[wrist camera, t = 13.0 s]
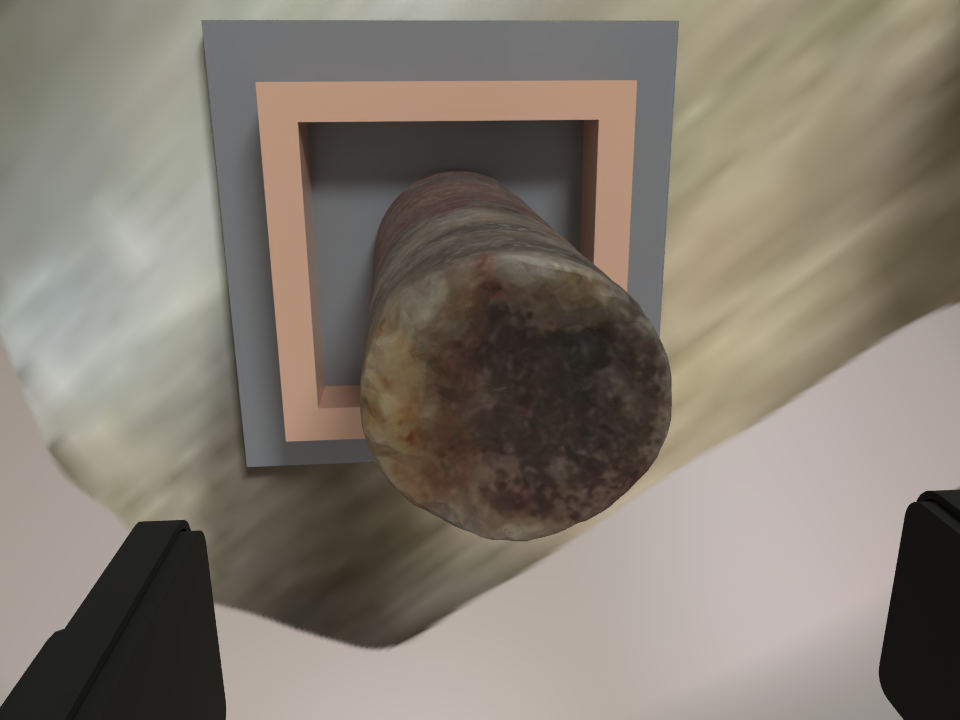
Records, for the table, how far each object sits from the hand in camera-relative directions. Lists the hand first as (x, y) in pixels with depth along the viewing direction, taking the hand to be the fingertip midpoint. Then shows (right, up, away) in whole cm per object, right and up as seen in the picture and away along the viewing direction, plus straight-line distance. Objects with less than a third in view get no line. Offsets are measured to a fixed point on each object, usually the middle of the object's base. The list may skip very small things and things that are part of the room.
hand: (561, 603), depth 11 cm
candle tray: (-2, +8, +27) cm, 28 cm away
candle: (-2, +8, +26) cm, 28 cm away
